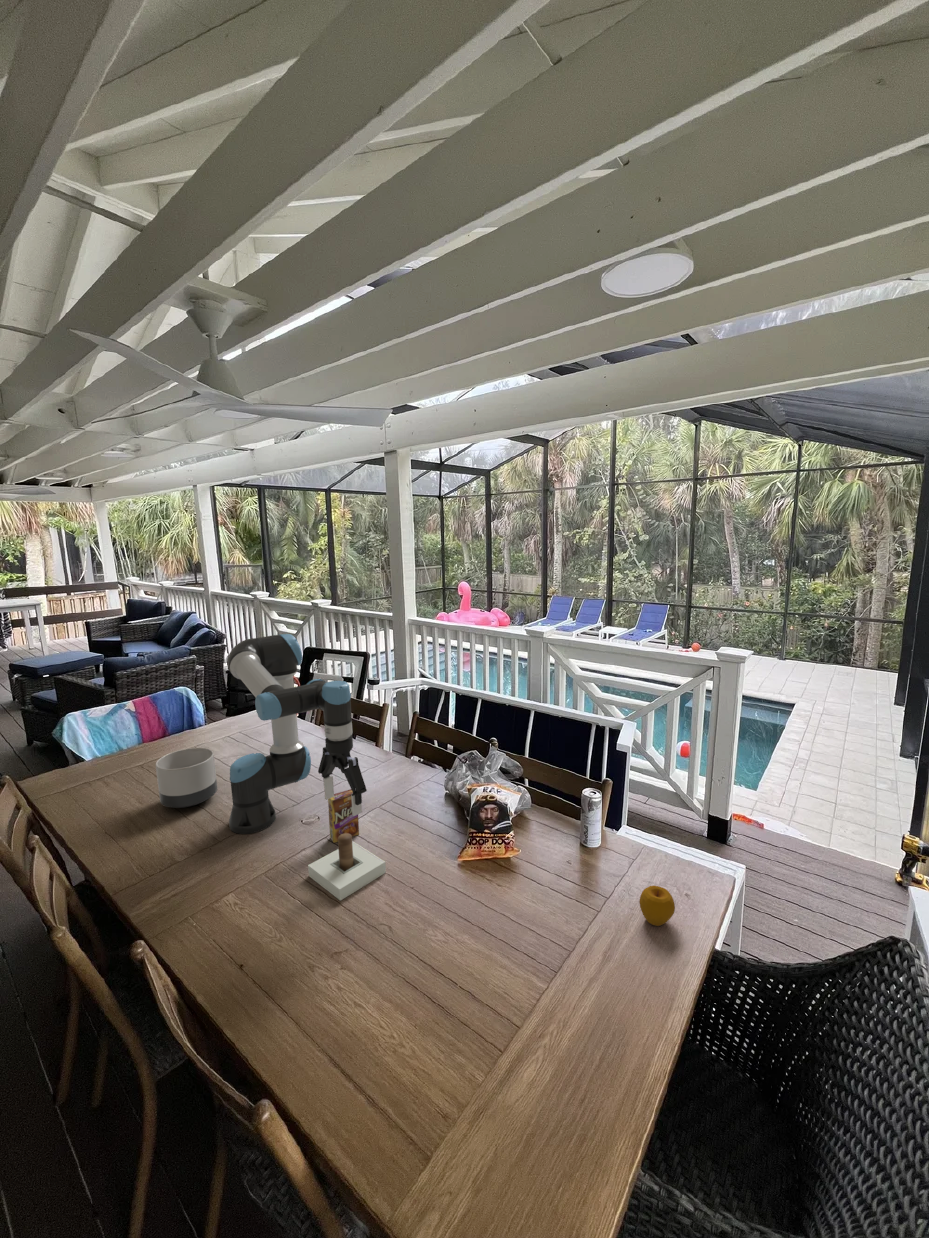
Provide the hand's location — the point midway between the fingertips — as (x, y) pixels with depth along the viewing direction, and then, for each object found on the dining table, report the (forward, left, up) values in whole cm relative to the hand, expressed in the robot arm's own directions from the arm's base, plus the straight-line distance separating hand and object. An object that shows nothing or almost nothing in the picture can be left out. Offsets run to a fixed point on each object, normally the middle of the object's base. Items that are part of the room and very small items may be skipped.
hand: (342, 805), depth 153 cm
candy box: (-17, +11, -22) cm, 30 cm away
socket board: (0, 0, -22) cm, 22 cm away
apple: (+76, +41, -22) cm, 89 cm away
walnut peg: (0, 0, -22) cm, 22 cm away
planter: (-81, -14, -22) cm, 85 cm away
